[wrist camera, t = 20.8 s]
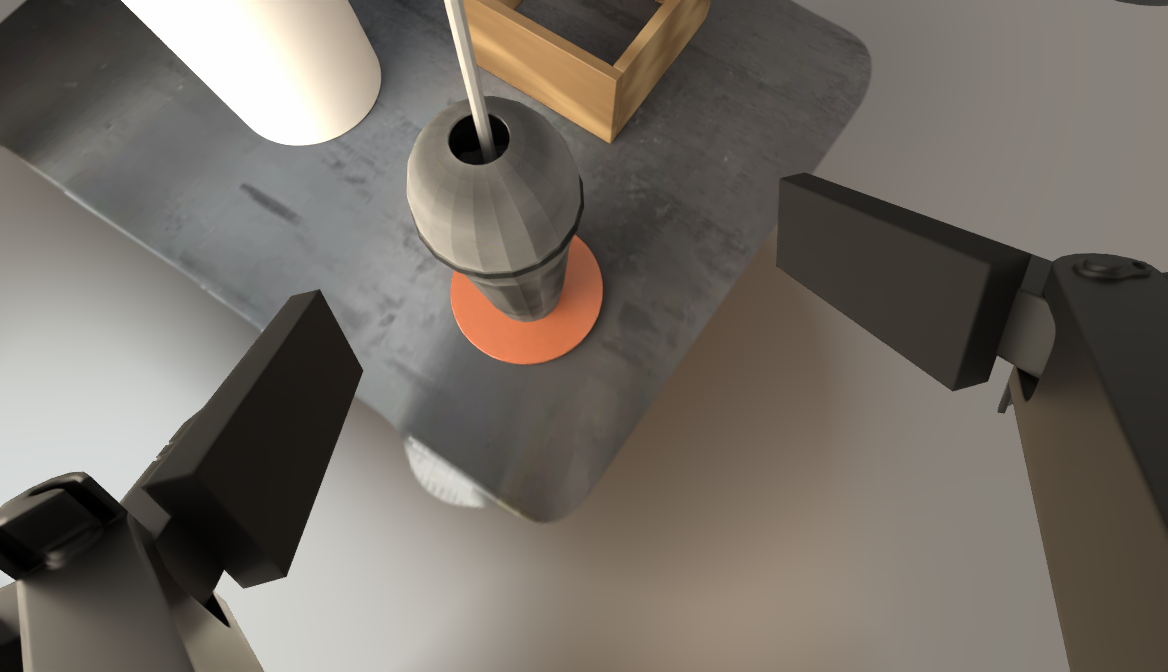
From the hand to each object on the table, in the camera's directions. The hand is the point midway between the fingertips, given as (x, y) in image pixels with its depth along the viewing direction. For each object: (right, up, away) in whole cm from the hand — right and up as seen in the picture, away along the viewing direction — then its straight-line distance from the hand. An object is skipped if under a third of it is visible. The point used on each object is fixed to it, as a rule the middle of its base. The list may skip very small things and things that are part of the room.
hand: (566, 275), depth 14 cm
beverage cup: (-3, +1, +18) cm, 18 cm away
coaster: (-3, +1, +18) cm, 18 cm away
